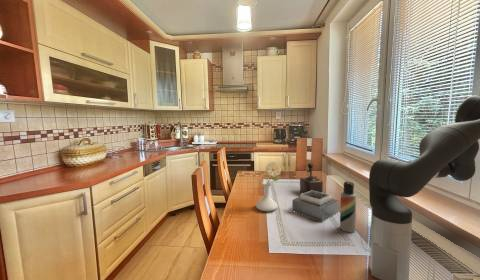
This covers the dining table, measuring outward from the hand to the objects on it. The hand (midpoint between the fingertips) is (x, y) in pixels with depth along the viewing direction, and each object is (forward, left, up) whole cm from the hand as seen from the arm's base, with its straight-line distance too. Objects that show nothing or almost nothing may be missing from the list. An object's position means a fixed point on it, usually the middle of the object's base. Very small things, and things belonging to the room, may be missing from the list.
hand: (384, 171), depth 85 cm
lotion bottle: (-11, +9, -25) cm, 28 cm away
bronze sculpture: (+19, +45, -25) cm, 55 cm away
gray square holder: (-5, +27, -24) cm, 37 cm away
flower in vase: (-20, +45, -25) cm, 55 cm away
